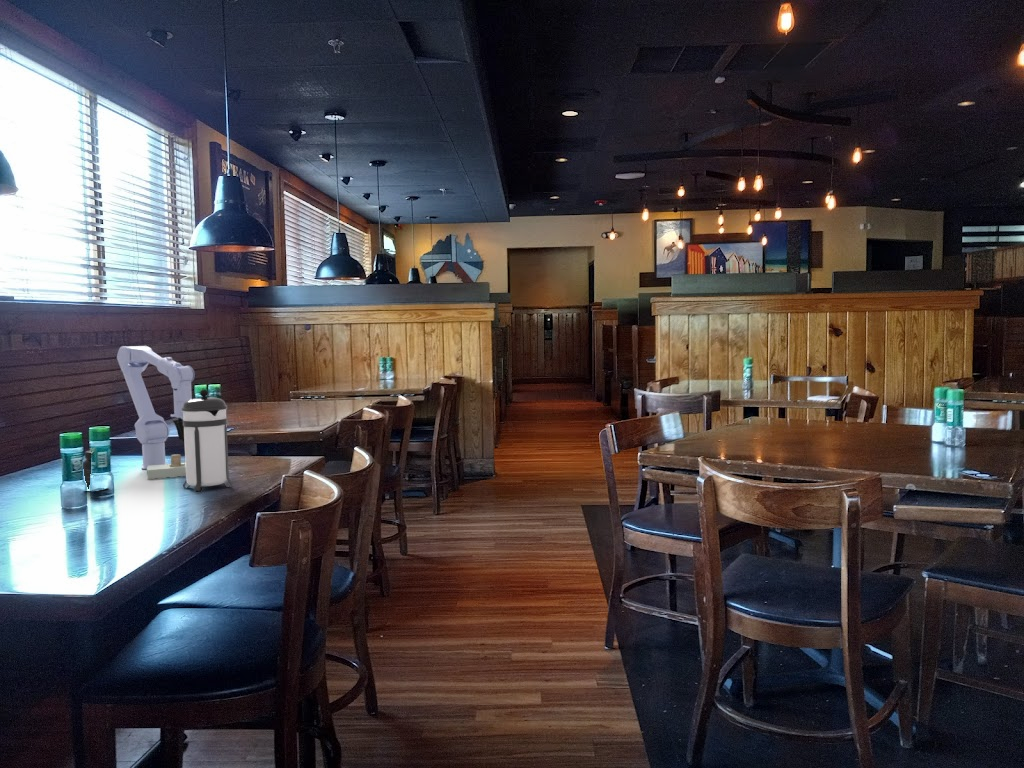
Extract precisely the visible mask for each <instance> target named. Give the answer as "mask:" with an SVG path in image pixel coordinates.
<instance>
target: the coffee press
mask: <svg viewBox="0 0 1024 768" xmlns="http://www.w3.org/2000/svg"><path fill="white" fill-rule="evenodd" d="M199 395H200V396H201V397H195V398H192V399H190V400H187V401H186V402H185V403H184V405H183V407H182V412H183V426H184V442H183V443H184V457H185V458H184V460H185V462H184V463H185V464H186V476H185V481H184V483H183V485H182V488H183V489H185V488H186V487H187V488H186V489H189V488H190V487H191V486H192V487H194V489H195V493H196V492H201V491H203V489H204V488H205V487H212V486H219V485H223V486H225V487H226V488H227V487H229V486H230V487H231V488H232V487H233V486H234V483H233V482H232V480H231V479H230V474H229V473H230V471H229V470H230V469H229V454H228V453H229V448H228V447H229V446H228V445H229V444H228V427H227V426H228V417H227V410H228V405H227V404H226V402H225V400H223V399H222V398H219V397H208V395H209V391H208V390H207V389H201V390H200V391H199ZM227 482H228V483H229V484H230V485H229V484H227ZM186 484H187V485H188V486H186ZM201 493H202V492H201Z"/></svg>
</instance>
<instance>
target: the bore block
mask: <svg viewBox="0 0 1024 768" xmlns="http://www.w3.org/2000/svg"><path fill="white" fill-rule="evenodd" d="M146 470H147V480H155V478H158V479H167V478H166V477H170V478H178V477H177V476H181V477H186V464H185V462H181V466H178V467H171V463H167V464H162V465H149V466H147V469H146Z"/></svg>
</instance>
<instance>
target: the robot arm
mask: <svg viewBox="0 0 1024 768" xmlns="http://www.w3.org/2000/svg"><path fill="white" fill-rule="evenodd" d="M116 355H117V356H116V359H117V363H118V365H119V367H120V370H121V372H122V373H123V378H124V379H125V382H126V386H127V388H128V391H129V394H130V396H131V399H132V402H133V404H134V408H135V411H136V413H137V415H138V419H137V421H136V422H135V423H134V430H135V437H136V439H137V440H138V442H139V443H140V444H141V450H142V452H141V453H142V464H141V470H147V466H149V465H162V464H168V463H167V462H166V449H165V447H166V445H165V444H166V443H165V442H167V439H168V438H169V436H170V427H169V425H168V424H167V423H166V422H165V419H164V417H163V416H161V415H159V414H158V413H156V412H155V409H154V406H153V403H152V401H151V398H150V396H149V393H148V389H147V388H146V385H145V382H144V379H143V377H142V372H144V371H145V370H146V369H147V367H148V366H149V365H152V366H155V367H156V369H157V371H158V372H159V373H161V374H162V375H164V376H166V377H167V378H168V380H169V381H170V385H171V388H172V390H173V391H172V392H173V412H174V413H173V414H170V417H171V418H177V419H172V422H173V423H174V426H175V429H176V431H177V435H178V439H179V440H181V441H182V442H183V443H185V442H184V426H183V412H182V407H183V405H184V403H185V402H186V401H187V400H190V399H193V397H192V394H193V393H192V382H193V381H194V380H195V376H196V375H195V370H194V368H193V367H192V366H190V365H185V366H184V365H182V364H181V363H180V362H178V361H175V360H173V357H172V356H166V357H162V356H160V355H159V354H158V353H156V352H154V351H153V349H152V348H151V347H149V346H147V345H138V346H137V345H136V346H135V345H134V346H126V345H125V346H124V345H122V346H120V347H119V348H118V351H117V354H116Z"/></svg>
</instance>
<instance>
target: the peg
mask: <svg viewBox="0 0 1024 768" xmlns="http://www.w3.org/2000/svg"><path fill="white" fill-rule="evenodd" d="M181 455H182V454H171V455H170V464H171V467H178V466H181V463H182V456H181Z"/></svg>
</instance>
